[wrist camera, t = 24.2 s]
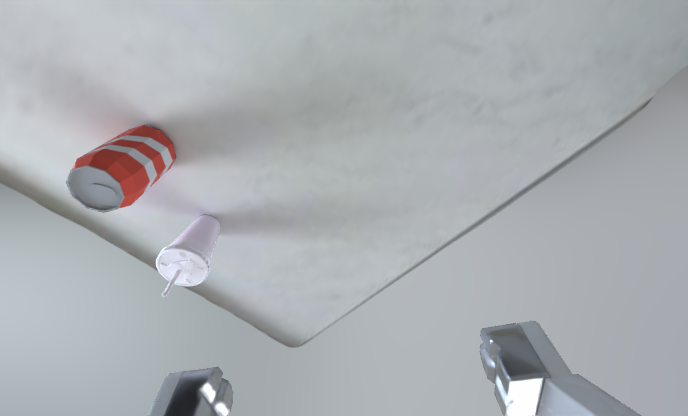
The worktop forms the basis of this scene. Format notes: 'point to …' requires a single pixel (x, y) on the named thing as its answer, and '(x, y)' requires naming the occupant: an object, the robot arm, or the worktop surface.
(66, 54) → the worktop surface
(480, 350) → the robot arm
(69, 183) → the beverage can
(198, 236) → the smoothie
